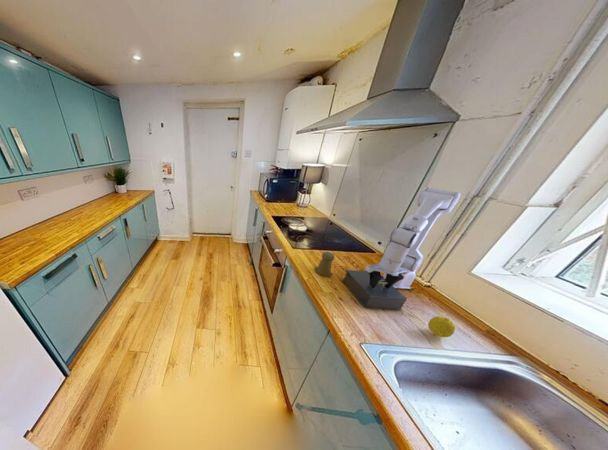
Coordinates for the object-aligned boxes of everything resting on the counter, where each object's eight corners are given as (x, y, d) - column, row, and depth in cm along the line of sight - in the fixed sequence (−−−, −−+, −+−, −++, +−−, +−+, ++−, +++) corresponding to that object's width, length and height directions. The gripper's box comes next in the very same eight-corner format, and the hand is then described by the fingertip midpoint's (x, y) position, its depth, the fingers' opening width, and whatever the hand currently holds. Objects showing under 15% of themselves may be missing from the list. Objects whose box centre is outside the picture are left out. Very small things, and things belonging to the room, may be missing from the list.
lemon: (450, 345, 64) (463, 328, 61) (426, 337, 67) (438, 320, 63) (443, 332, 68) (455, 316, 65) (421, 325, 71) (432, 308, 68)
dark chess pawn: (331, 276, 94) (338, 257, 90) (318, 275, 95) (324, 255, 91) (327, 269, 100) (333, 250, 95) (314, 267, 101) (320, 249, 96)
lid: (345, 271, 90) (348, 263, 88) (375, 272, 90) (379, 265, 88) (370, 297, 75) (374, 289, 74) (406, 299, 75) (411, 291, 73)
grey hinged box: (343, 281, 92) (346, 272, 89) (372, 283, 91) (377, 274, 89) (365, 307, 78) (370, 297, 75) (400, 310, 77) (406, 299, 75)
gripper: (380, 263, 71) (366, 292, 76) (422, 266, 70) (405, 294, 76) (367, 252, 77) (355, 280, 83) (405, 255, 76) (391, 282, 82)
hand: (378, 286), depth 80 cm, fingers closed on lid, 5 cm apart
